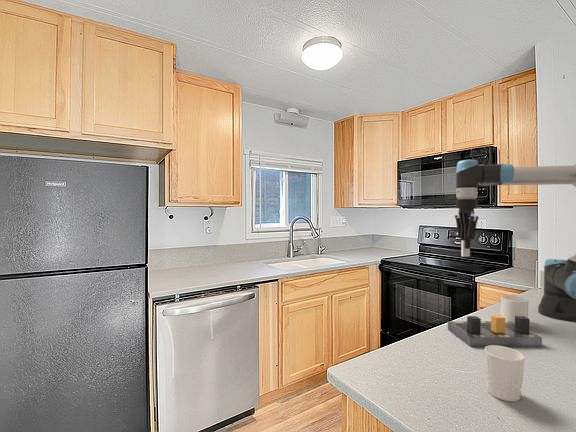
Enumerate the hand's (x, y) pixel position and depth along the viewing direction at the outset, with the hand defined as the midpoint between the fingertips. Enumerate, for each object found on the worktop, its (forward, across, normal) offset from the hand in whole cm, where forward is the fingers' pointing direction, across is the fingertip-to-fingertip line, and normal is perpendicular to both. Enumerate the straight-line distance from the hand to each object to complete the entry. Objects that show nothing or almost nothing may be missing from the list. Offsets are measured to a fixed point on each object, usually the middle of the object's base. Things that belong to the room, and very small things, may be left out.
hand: (465, 256), depth 129 cm
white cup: (+25, +54, -21) cm, 63 cm away
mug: (+25, +10, +14) cm, 30 cm away
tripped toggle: (+21, +25, -3) cm, 33 cm away
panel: (+24, +22, -3) cm, 33 cm away
